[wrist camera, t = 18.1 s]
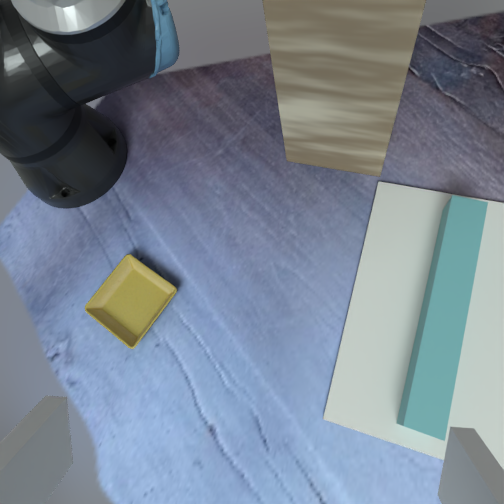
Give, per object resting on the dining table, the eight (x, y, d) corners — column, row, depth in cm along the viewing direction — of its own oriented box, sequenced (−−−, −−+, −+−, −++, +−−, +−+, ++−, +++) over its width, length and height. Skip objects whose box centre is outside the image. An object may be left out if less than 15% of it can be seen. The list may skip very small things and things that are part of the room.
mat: (519, 485, 35) (522, 486, 34) (322, 418, 39) (322, 419, 39) (543, 212, 43) (546, 210, 42) (377, 183, 48) (378, 181, 47)
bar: (433, 437, 37) (444, 441, 34) (396, 423, 38) (403, 426, 34) (475, 216, 43) (488, 202, 40) (442, 209, 44) (452, 195, 41)
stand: (383, 180, 48) (455, -76, 22) (282, 163, 51) (240, -77, 25) (405, 85, 52) (487, -224, 26) (310, 74, 55) (300, -208, 29)
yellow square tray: (184, 293, 47) (178, 289, 45) (139, 352, 46) (131, 350, 44) (135, 257, 50) (127, 252, 48) (91, 312, 49) (82, 308, 47)
